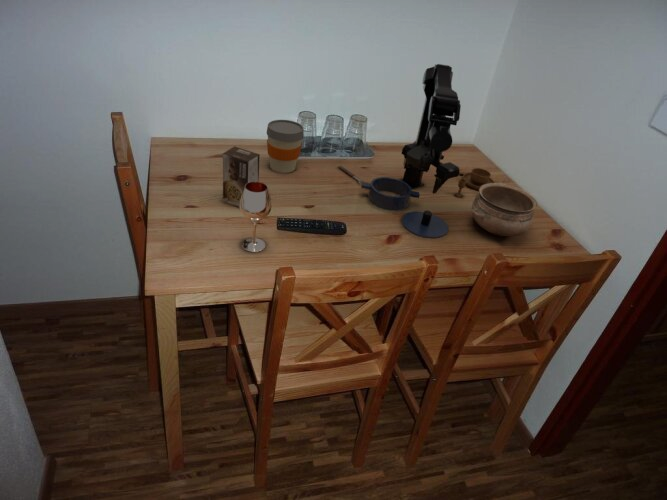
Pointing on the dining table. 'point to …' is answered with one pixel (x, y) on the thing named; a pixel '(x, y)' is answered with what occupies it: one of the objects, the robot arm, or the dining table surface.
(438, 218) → the lid
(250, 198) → the wineglass
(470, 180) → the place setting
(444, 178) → the robot arm
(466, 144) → the dining table surface
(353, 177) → the fork
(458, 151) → the dining table surface
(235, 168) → the coffee box
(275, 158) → the reusable coffee cup
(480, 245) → the dining table surface
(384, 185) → the saucepan
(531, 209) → the cooking pot
